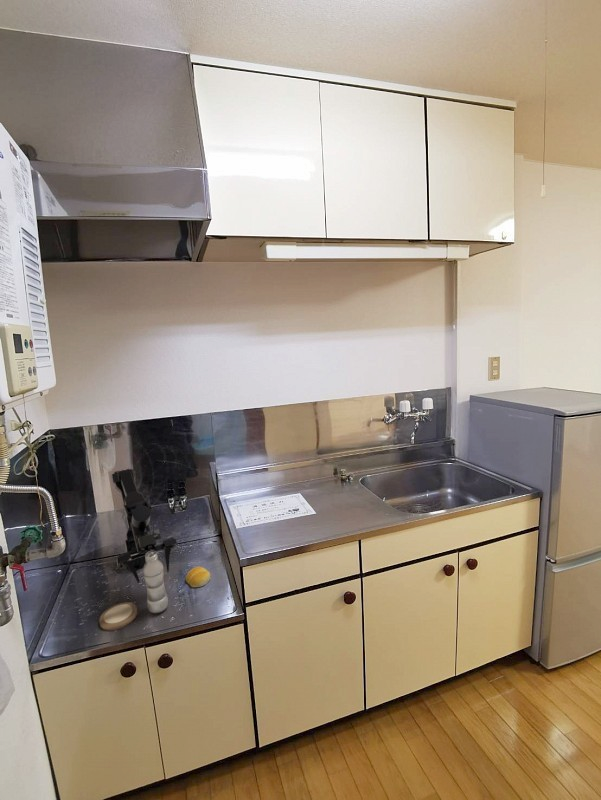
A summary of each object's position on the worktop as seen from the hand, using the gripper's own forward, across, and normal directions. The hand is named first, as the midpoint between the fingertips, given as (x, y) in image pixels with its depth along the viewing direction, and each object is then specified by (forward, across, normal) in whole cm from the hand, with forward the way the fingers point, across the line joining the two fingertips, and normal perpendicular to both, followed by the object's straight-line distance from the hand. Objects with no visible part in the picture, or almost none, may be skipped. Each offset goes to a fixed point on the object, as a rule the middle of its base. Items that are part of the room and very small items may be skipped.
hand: (153, 577), depth 128 cm
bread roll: (+4, +16, +12) cm, 20 cm away
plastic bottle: (+9, 0, +7) cm, 11 cm away
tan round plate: (+6, -12, +10) cm, 16 cm away
